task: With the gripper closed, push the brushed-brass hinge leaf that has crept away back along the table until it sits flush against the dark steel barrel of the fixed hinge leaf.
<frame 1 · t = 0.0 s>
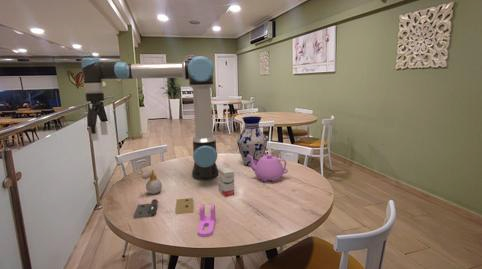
hand: (100, 137, 133), 28 cm above the table, fingers open, 13 cm apart
teapot: (267, 179, 151), on the table
steel leaf: (144, 211, 117), on the table
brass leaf: (184, 208, 119), on the table
bracket: (206, 228, 103), on the table
perfume bottle: (153, 194, 135), on the table
ink box: (226, 193, 134), on the table
vase: (252, 164, 178), on the table
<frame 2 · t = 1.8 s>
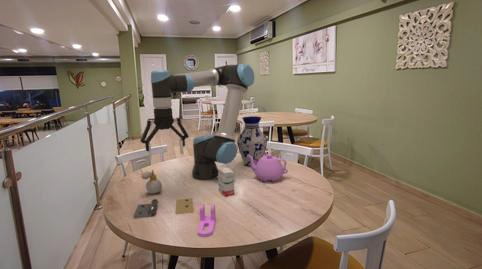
hand: (166, 156, 122), 21 cm above the table, fingers open, 13 cm apart
nothing on the table moved.
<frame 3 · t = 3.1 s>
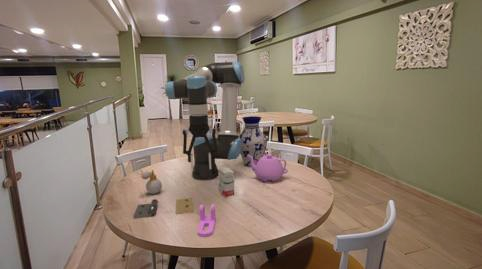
hand: (201, 168, 117), 17 cm above the table, fingers open, 7 cm apart
nothing on the table moved.
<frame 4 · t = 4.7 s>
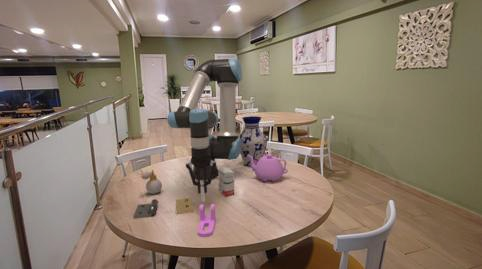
hand: (202, 199, 120), 3 cm above the table, fingers closed
nothing on the table moved.
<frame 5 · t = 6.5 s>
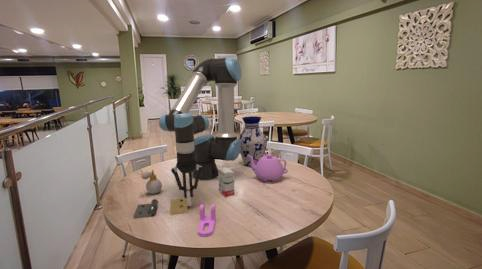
hand: (189, 204, 119), 1 cm above the table, fingers closed
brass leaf: (179, 209, 119), on the table, touching gripper
everything else where it was.
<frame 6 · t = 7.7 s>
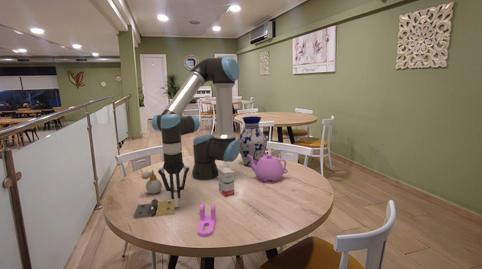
hand: (176, 205, 118), 1 cm above the table, fingers closed
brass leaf: (166, 211, 118), on the table, touching gripper
everything else where it was.
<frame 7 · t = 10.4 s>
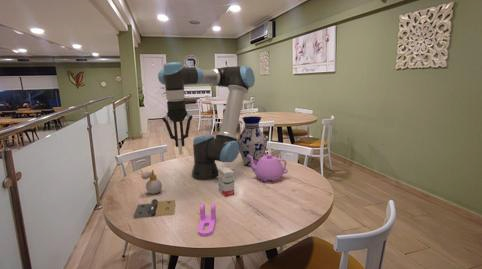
hand: (180, 153, 122), 22 cm above the table, fingers closed
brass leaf: (166, 211, 118), on the table
everything else where it was.
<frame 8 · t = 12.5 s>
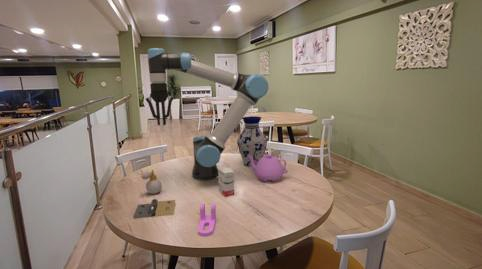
hand: (162, 131, 135), 29 cm above the table, fingers closed
nothing on the table moved.
at the end: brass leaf 0.3 cm from the target spot on the table beside the steel leaf, on the table; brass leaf tilted 0° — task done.
